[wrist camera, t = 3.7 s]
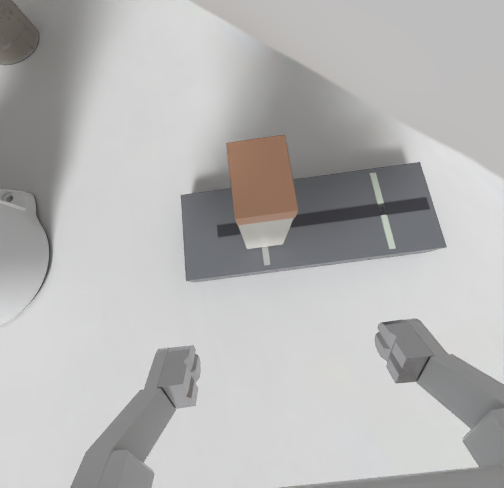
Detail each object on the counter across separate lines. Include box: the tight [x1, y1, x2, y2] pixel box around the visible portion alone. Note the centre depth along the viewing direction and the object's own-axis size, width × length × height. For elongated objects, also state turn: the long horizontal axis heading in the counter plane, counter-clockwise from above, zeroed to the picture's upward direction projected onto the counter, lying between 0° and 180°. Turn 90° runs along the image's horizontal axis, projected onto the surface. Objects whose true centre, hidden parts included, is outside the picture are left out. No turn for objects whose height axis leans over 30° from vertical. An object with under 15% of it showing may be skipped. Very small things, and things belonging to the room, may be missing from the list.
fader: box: [226, 135, 298, 249], centre depth 18 cm, size 4×5×10 cm
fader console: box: [181, 162, 446, 282], centre depth 24 cm, size 25×9×3 cm, turn 97°
